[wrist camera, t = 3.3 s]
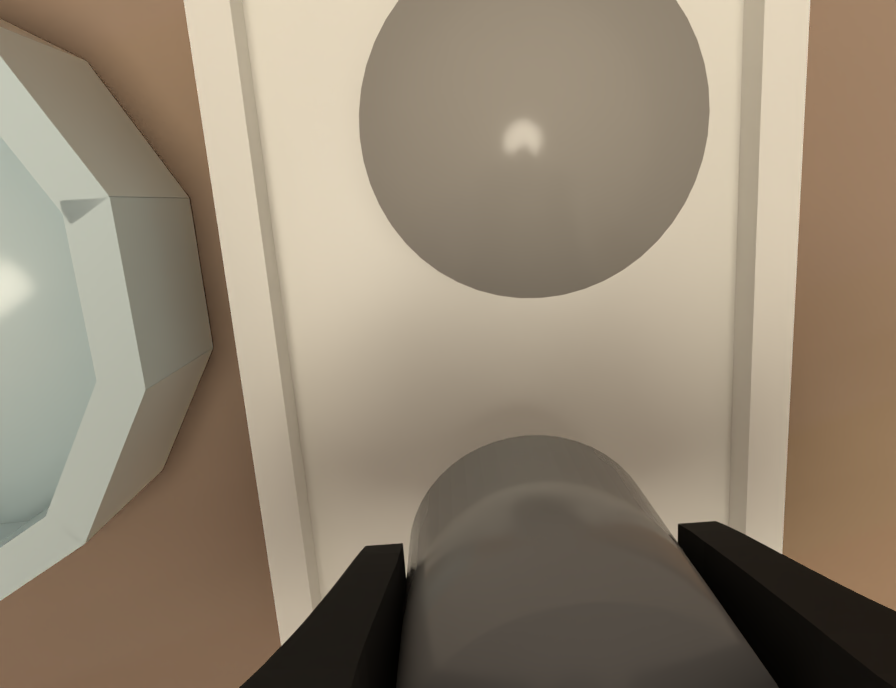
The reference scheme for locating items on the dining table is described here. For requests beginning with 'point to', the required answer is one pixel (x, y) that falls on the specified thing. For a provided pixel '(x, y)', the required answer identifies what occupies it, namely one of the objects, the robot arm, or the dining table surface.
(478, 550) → the slate capsule
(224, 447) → the dining table surface
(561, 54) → the grey rounded cylinder
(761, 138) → the parts tray
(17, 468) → the bowl
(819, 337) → the dining table surface
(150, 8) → the dining table surface
